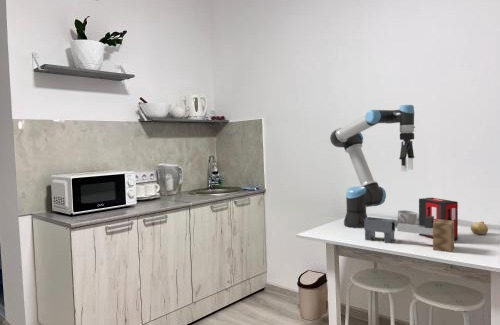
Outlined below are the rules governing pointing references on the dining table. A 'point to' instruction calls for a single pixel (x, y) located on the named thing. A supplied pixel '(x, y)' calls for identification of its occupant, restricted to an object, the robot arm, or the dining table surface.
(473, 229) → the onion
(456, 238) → the cleaning product box
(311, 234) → the dining table surface
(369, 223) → the grey arched bench
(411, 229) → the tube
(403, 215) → the teacup
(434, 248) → the socket block
